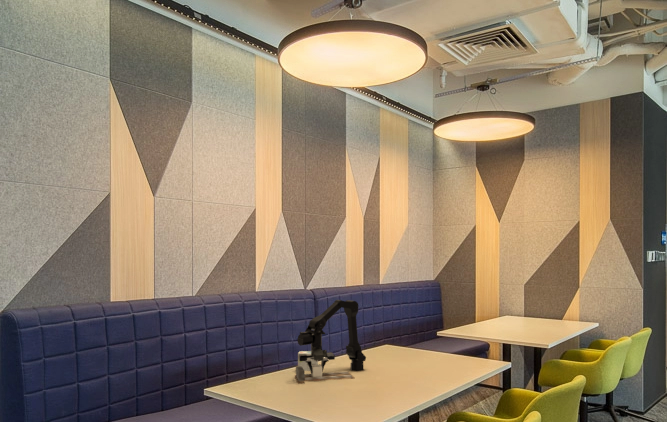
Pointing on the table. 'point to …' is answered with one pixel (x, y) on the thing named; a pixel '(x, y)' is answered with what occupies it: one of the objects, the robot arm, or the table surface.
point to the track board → (303, 377)
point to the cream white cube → (316, 370)
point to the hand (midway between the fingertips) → (316, 373)
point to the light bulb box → (303, 363)
